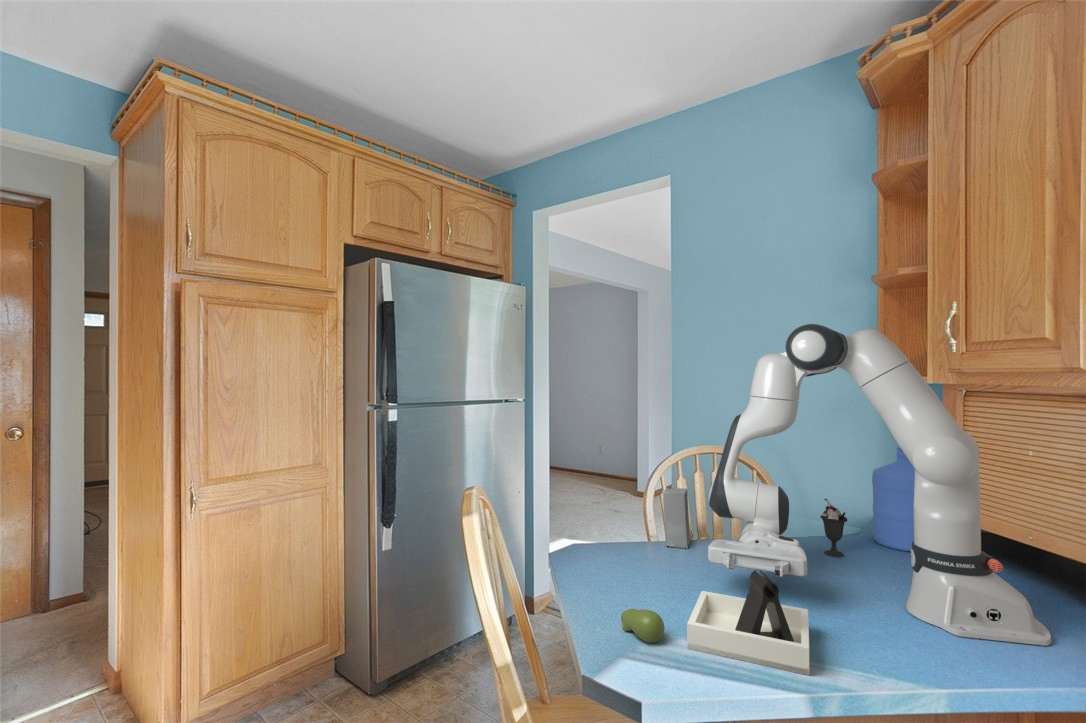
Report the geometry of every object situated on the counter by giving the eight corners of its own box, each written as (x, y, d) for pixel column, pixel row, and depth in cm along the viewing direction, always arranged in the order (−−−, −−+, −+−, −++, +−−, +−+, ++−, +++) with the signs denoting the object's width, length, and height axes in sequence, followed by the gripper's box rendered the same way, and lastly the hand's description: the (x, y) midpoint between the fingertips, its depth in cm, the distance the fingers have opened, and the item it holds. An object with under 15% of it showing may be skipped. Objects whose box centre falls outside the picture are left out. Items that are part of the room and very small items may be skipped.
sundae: (816, 549, 149) (815, 496, 150) (841, 550, 148) (840, 497, 149) (825, 557, 143) (824, 502, 143) (852, 558, 142) (851, 503, 142)
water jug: (950, 555, 144) (948, 453, 145) (887, 552, 147) (886, 451, 148) (920, 537, 160) (918, 445, 160) (863, 534, 163) (862, 444, 163)
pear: (645, 618, 96) (612, 607, 105) (649, 649, 95) (615, 635, 104) (668, 611, 99) (634, 600, 108) (672, 641, 98) (637, 628, 107)
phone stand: (746, 650, 94) (745, 582, 94) (734, 633, 100) (733, 570, 100) (796, 650, 94) (796, 582, 94) (782, 633, 100) (781, 570, 100)
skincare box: (687, 549, 149) (687, 493, 150) (662, 546, 152) (662, 491, 152) (690, 540, 157) (690, 487, 158) (666, 538, 160) (666, 485, 160)
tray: (808, 632, 102) (807, 609, 102) (809, 675, 88) (809, 648, 88) (701, 612, 111) (701, 590, 111) (687, 648, 96) (687, 623, 96)
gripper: (711, 529, 127) (702, 546, 114) (806, 541, 118) (807, 561, 105) (711, 555, 127) (702, 576, 114) (807, 569, 118) (807, 593, 105)
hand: (753, 569), depth 110 cm, fingers open, 8 cm apart
